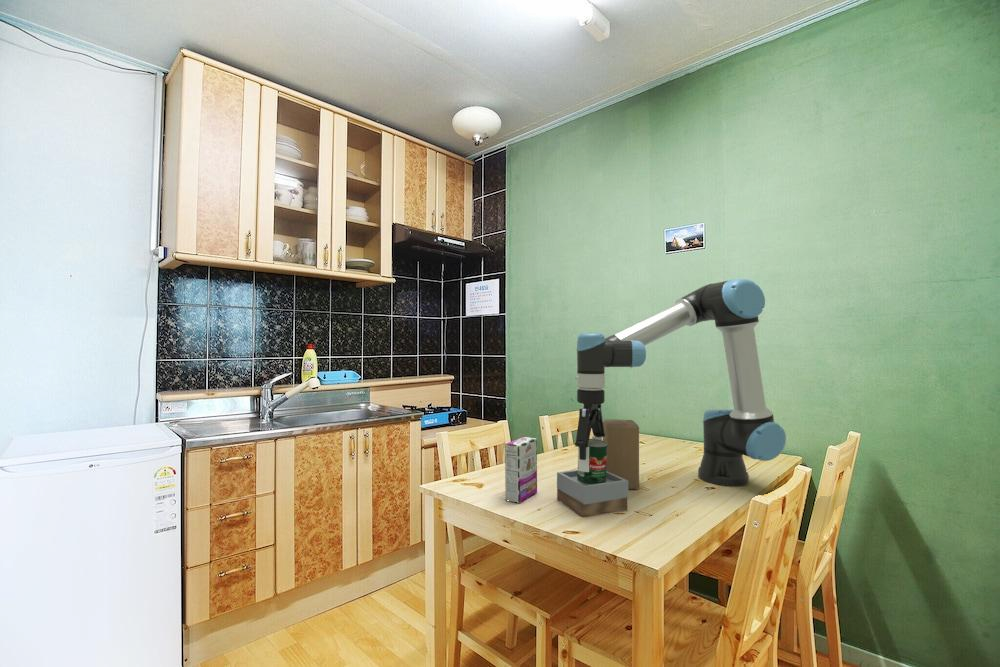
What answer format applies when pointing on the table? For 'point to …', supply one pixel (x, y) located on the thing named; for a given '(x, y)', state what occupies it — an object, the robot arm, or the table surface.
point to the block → (623, 450)
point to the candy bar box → (521, 469)
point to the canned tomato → (595, 463)
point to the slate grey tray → (592, 488)
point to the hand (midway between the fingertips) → (590, 465)
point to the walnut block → (592, 505)
